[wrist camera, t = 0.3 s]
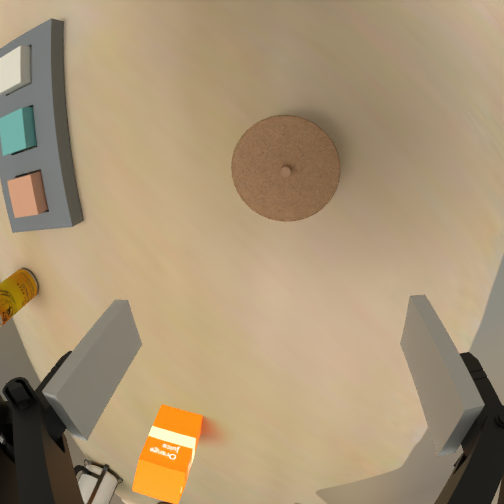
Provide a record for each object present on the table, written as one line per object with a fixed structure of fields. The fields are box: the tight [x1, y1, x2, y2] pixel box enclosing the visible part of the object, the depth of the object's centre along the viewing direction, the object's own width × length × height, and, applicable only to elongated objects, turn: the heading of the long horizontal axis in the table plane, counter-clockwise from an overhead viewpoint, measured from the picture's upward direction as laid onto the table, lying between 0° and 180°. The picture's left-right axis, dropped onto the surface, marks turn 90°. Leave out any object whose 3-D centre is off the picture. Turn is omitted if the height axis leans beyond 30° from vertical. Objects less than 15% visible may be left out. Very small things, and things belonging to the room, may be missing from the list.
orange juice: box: [132, 405, 202, 504], centre depth 51 cm, size 8×9×20 cm
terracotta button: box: [7, 171, 48, 218], centre depth 39 cm, size 6×6×3 cm
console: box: [0, 19, 83, 233], centre depth 38 cm, size 32×15×3 cm, turn 4°
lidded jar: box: [232, 115, 340, 221], centre depth 33 cm, size 11×11×9 cm
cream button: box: [0, 46, 32, 95], centre depth 32 cm, size 6×6×3 cm
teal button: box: [0, 107, 37, 156], centre depth 36 cm, size 6×6×3 cm
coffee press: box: [74, 460, 123, 504], centre depth 68 cm, size 17×16×30 cm
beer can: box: [0, 269, 38, 327], centre depth 44 cm, size 6×6×15 cm
